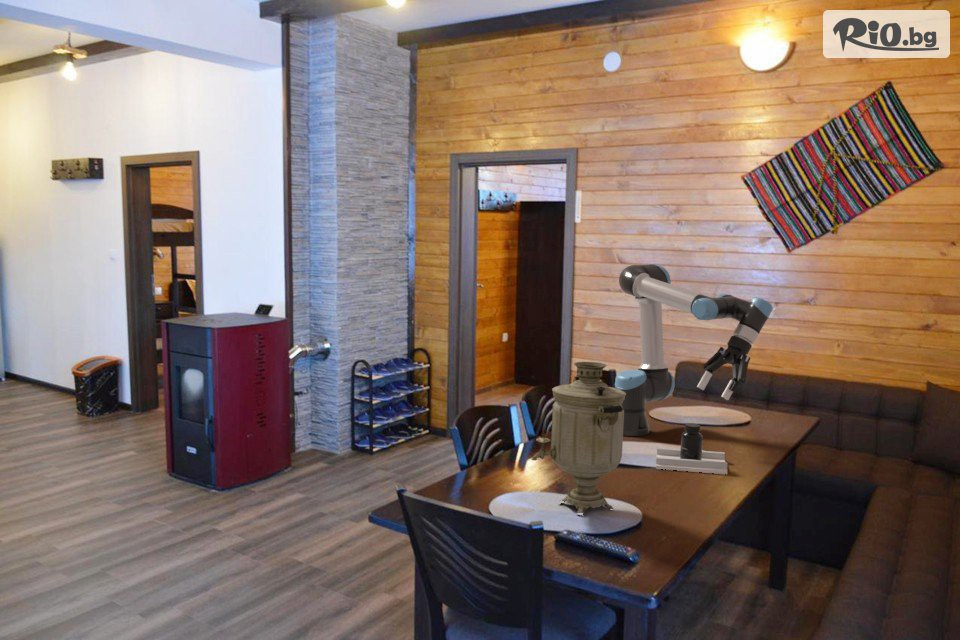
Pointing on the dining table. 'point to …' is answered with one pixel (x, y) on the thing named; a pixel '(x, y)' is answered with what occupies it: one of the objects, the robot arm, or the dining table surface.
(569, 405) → the samovar
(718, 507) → the dining table surface
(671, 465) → the rail cradle
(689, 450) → the supplement bottle
